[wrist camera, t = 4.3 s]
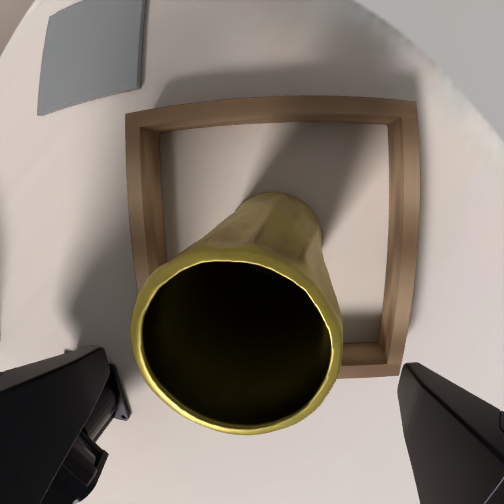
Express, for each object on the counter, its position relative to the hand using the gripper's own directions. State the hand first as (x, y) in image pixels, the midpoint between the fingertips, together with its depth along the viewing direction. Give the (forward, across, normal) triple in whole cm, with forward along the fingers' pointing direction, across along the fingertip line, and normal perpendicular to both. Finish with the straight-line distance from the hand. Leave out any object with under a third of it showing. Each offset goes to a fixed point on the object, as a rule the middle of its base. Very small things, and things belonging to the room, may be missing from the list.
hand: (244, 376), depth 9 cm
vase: (+13, 0, -1) cm, 13 cm away
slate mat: (+13, +14, -17) cm, 26 cm away
